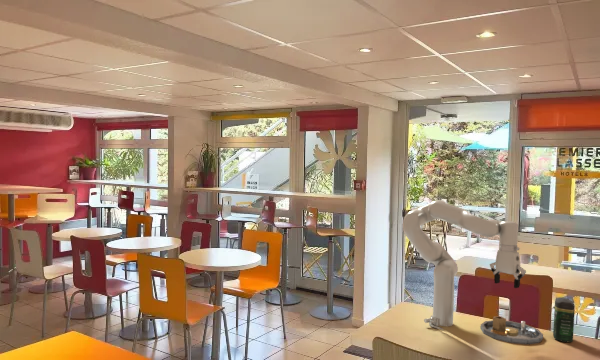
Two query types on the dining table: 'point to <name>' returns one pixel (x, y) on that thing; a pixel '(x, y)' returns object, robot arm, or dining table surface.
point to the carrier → (514, 333)
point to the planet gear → (499, 325)
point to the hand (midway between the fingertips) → (506, 285)
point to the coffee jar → (564, 320)
